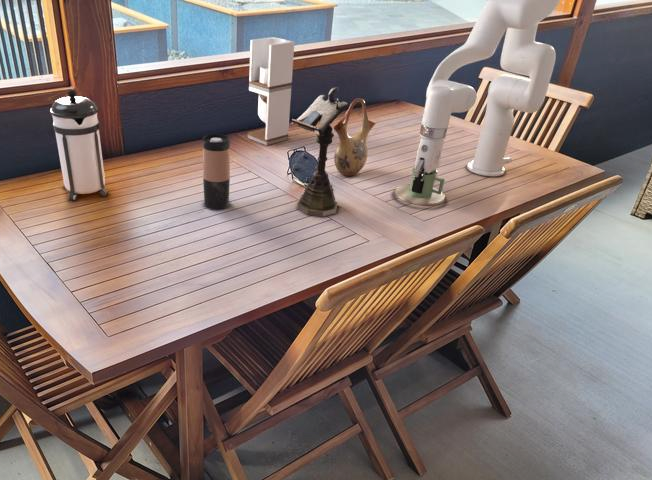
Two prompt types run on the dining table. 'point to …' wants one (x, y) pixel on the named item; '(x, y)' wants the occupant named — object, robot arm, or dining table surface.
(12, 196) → the dining table surface
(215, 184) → the travel mug
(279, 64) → the white dispenser tower
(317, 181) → the ornate book stand
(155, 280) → the dining table surface
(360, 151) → the ceramic vessel
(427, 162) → the robot arm
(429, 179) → the coffee cup on saucer
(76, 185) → the coffee press
